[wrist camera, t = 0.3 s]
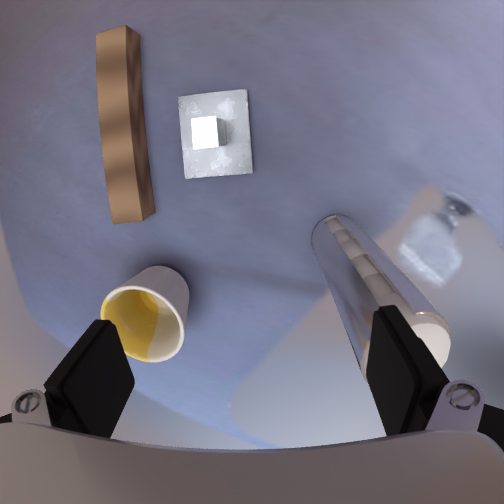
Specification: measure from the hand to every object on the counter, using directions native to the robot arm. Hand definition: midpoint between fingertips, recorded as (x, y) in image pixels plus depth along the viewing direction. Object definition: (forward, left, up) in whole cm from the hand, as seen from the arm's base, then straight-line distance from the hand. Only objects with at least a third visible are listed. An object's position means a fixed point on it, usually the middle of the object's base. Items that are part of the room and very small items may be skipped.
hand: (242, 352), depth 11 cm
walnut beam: (-11, -15, -30) cm, 36 cm away
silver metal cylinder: (+6, +10, -30) cm, 32 cm away
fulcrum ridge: (-8, -4, -30) cm, 31 cm away
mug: (+12, -15, -30) cm, 36 cm away
